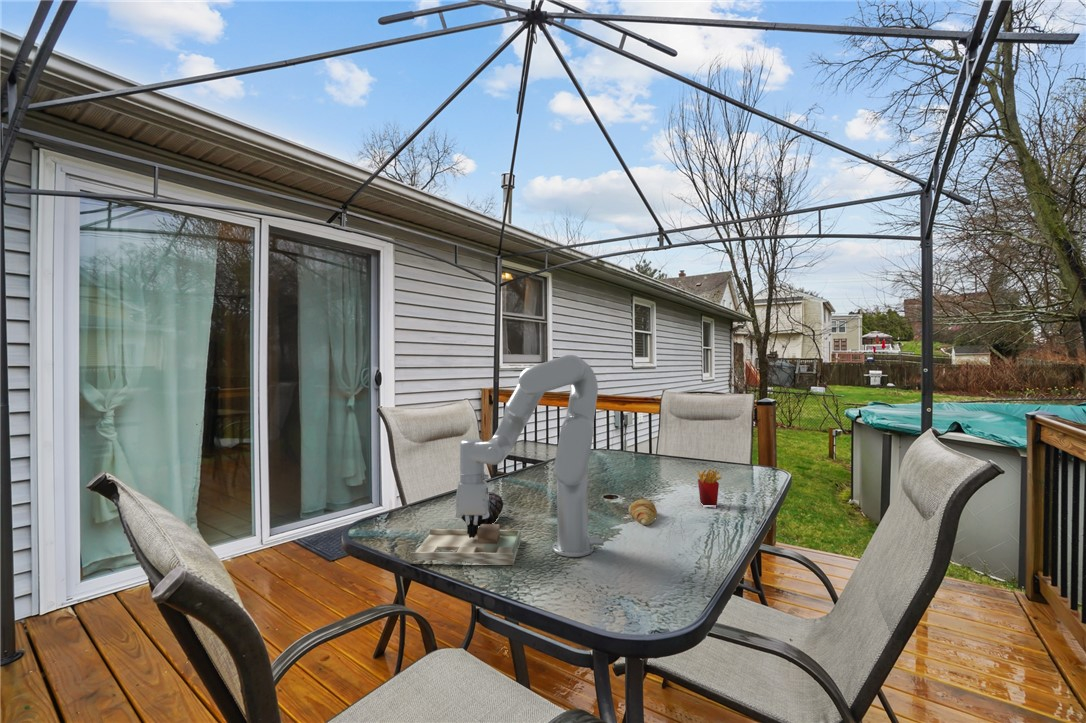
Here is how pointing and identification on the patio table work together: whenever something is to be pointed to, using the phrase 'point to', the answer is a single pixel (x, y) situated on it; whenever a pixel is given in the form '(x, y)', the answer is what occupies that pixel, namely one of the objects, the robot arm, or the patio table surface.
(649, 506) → the croissant
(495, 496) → the pine cone
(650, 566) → the patio table surface
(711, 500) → the french fries
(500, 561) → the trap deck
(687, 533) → the patio table surface
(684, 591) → the patio table surface
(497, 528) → the walnut block
